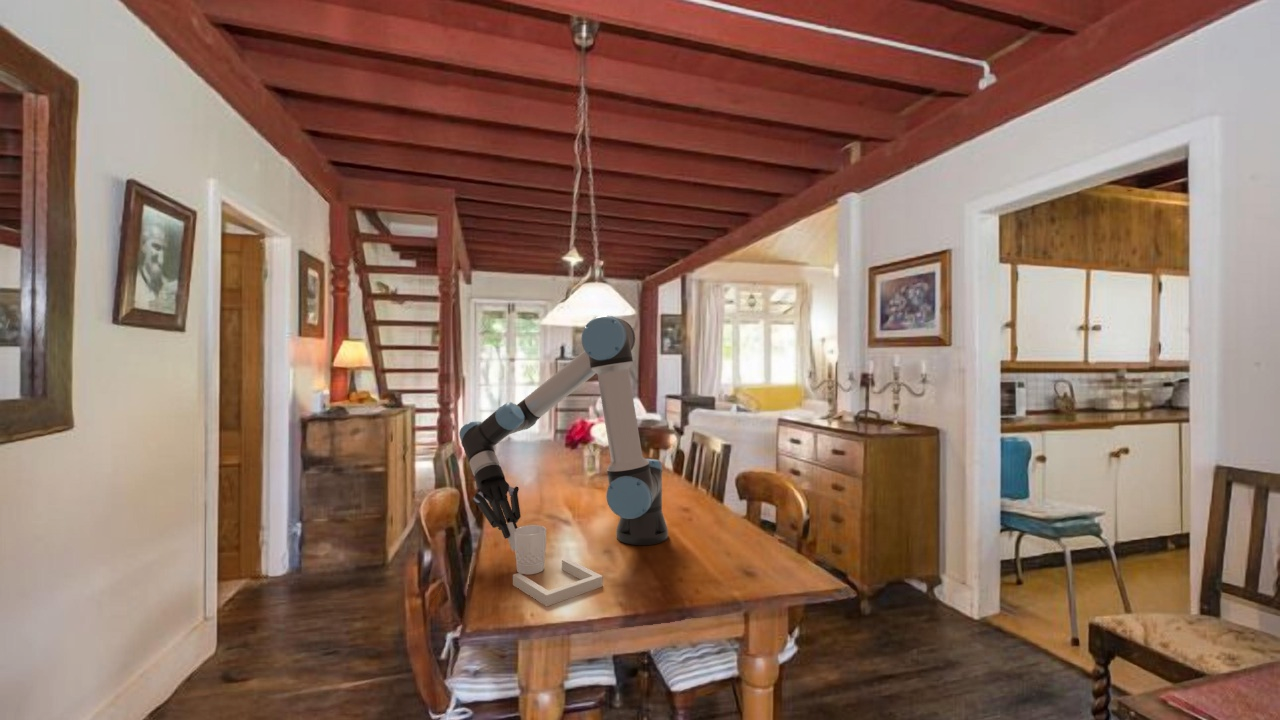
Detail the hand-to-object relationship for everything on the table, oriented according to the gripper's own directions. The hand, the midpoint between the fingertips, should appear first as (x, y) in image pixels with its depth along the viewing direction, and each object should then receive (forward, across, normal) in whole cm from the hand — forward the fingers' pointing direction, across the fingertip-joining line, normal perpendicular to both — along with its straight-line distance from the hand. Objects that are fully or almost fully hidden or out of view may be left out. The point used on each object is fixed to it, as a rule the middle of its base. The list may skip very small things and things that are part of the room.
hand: (516, 547), depth 139 cm
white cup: (+7, -1, 0) cm, 7 cm away
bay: (+15, -1, +9) cm, 18 cm away
